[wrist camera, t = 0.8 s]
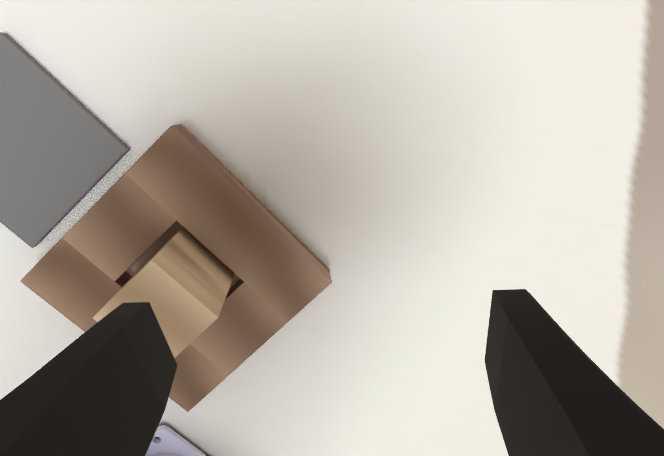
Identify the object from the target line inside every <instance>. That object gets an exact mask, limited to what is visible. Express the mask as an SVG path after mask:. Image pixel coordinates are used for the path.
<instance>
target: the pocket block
mask: <svg viewBox="0 0 664 456" xmlns="http://www.w3.org/2000/svg"><path fill="white" fill-rule="evenodd" d="M183 227H184V228H186V229H187V230H188V231H189V232H190V233H191V234H192V235H193V236H194V237H195V238H197V239H198V240H199V241H200V242H201V243H202V244H203V245H204V246H205V247H206V248H208V249H209V250H210V251H211V252H212V253H213V254H214V255H215V256H216V257H217V258H219V259H220V260H221V261H222V262H223V263H224V264H225V265H226V266H227V267H228V268H230V269H231V270H232V271H233V272H234V273H235V274H234V277H233V280H232V282H231V285H230V288H229V290H228V293H227V296H226V298H225V301H224V304H223V306H222V309H221V312H220V314H219V317H218V318H217V319H216V320H215V321H214V322H213V323H212V324H211V325H210V326H209V327H208V328H207V329H205V330H204V331H203V332H202V333H201V334H200V335H199V336H198V337H197V338H196V339H195V340H194V341H193V342H191V343H190V344H189V345H188V346H187V347H186V348H185V349H184V350H183V351H182V352H181V353H180V354H179V355H177V356H176V357H175V360H176V363H177V369H176V373H175V376H174V380H173V384H172V387H171V391H170V394H169V398H171V399H172V400H173V401H175V402H176V403H177V404H178V405H180V406H181V407H182V408H184V409H185V410H186V411H187V412H188V411H189V410H191V409H192V408H193V407H194V406H195V405H196V404H197V403H198V402H199V401H201V400H202V399H203V398H204V397H205V396H206V395H207V394H208V393H209V392H211V391H212V390H213V389H214V388H215V387H216V386H217V385H218V384H219V383H221V382H222V381H223V380H224V379H225V378H226V377H227V376H228V375H229V374H230V373H232V372H233V371H234V370H235V369H236V368H237V367H238V366H239V365H240V364H242V363H243V362H244V361H245V360H246V359H247V358H248V357H249V356H250V355H252V354H253V353H254V352H255V351H256V350H257V349H258V348H259V347H260V346H262V345H263V344H264V343H265V342H266V341H267V340H268V339H269V338H270V337H272V336H273V335H274V334H275V333H276V332H277V331H278V330H279V329H280V328H282V327H283V326H284V325H285V324H286V323H287V322H288V321H289V320H290V319H292V318H293V317H294V316H295V315H296V314H297V313H298V312H299V311H300V310H302V309H303V308H304V307H305V306H306V305H307V304H308V303H309V302H310V301H312V300H313V299H314V298H315V297H316V296H317V295H318V294H319V293H320V292H322V291H323V290H324V289H325V288H326V287H327V286H328V285H329V284H330V283H332V281H331V276H330V271H329V269H328V268H327V267H326V266H325V265H324V264H323V263H322V262H321V261H320V260H319V259H318V258H317V257H316V256H315V255H313V254H312V253H311V252H310V251H309V250H308V249H307V248H306V247H305V246H304V245H303V244H302V243H301V242H300V241H299V240H298V239H297V238H296V237H295V236H294V235H293V234H292V233H291V232H290V231H289V230H288V229H287V228H286V227H285V226H284V225H283V224H282V223H281V222H280V221H279V220H278V219H277V218H276V217H275V216H274V215H273V214H272V213H271V212H270V211H269V210H268V209H267V208H266V207H265V206H264V205H263V204H262V203H261V202H259V201H258V200H257V199H256V198H255V197H254V196H253V195H252V194H251V193H250V192H249V191H248V190H247V189H246V188H245V187H244V186H243V185H242V184H241V183H240V182H239V181H238V180H237V179H236V178H235V177H234V176H233V175H232V174H231V173H230V172H229V171H228V170H227V169H226V168H225V167H224V166H223V165H222V164H221V163H220V162H219V161H218V160H217V159H216V158H215V157H214V156H213V155H212V154H211V153H210V152H209V151H208V150H207V149H205V148H204V147H203V146H202V145H201V144H200V143H199V142H198V141H197V140H196V139H195V138H194V137H193V136H192V135H191V134H190V133H189V132H188V131H187V130H186V129H185V128H184V127H183V126H182V125H174V126H171V127H170V128H169V129H168V130H167V131H166V132H165V133H164V134H163V135H162V136H161V137H160V138H159V139H158V140H157V141H156V142H155V143H154V144H153V145H152V146H151V147H150V148H149V149H148V150H147V151H146V152H145V153H144V154H143V155H142V156H141V157H140V158H139V159H138V160H137V162H136V163H135V164H134V165H133V166H132V167H131V168H130V169H129V170H128V171H127V172H126V173H125V174H124V175H123V176H122V177H121V178H120V179H119V180H118V181H117V182H116V183H115V184H114V185H113V186H112V187H111V188H110V189H109V190H108V191H107V192H106V193H105V194H104V195H103V196H102V197H101V199H100V200H99V201H98V202H97V203H96V204H95V205H94V206H93V207H92V208H91V209H90V210H89V211H88V212H87V213H86V214H85V215H84V216H83V217H82V218H81V219H80V220H79V221H78V222H77V223H76V224H75V225H74V226H73V227H72V228H71V229H70V230H69V231H68V232H67V233H66V234H65V235H64V237H63V238H62V239H61V240H60V241H59V242H58V243H57V244H56V245H55V246H54V247H53V248H52V249H51V250H50V251H49V252H48V253H47V254H46V255H45V256H44V257H43V258H42V259H41V260H40V261H39V262H38V263H37V264H36V265H35V266H34V267H33V268H32V269H31V270H30V271H29V272H28V273H27V275H26V276H25V277H24V278H23V279H22V280H21V281H20V282H22V283H23V284H24V285H26V286H27V287H28V288H29V289H31V290H32V291H33V292H35V293H36V294H37V295H38V296H40V297H41V298H42V299H44V300H45V301H46V302H47V303H49V304H50V305H51V306H53V307H54V308H55V309H56V310H58V311H59V312H60V313H62V314H63V315H64V316H65V317H67V318H68V319H69V320H71V321H72V322H73V323H74V324H76V325H77V326H78V327H80V328H81V329H82V330H83V331H85V332H86V331H87V330H89V329H90V328H91V327H92V326H93V325H95V324H96V323H97V321H95V320H94V319H93V317H94V316H95V315H96V314H97V313H98V312H99V311H100V310H101V309H102V308H103V307H104V306H105V305H106V303H107V302H108V301H109V300H110V299H111V298H112V297H113V296H114V295H115V294H116V293H117V292H118V291H119V290H120V289H121V288H122V287H123V286H124V285H125V284H126V283H127V282H128V281H129V280H130V279H131V278H132V277H133V276H134V275H135V274H136V273H137V272H138V271H139V270H140V269H141V268H142V267H143V266H144V265H145V264H146V263H147V262H148V261H149V260H150V259H151V258H152V257H153V256H154V255H155V254H156V253H157V252H158V251H159V250H160V249H161V248H162V247H163V246H164V245H165V244H166V243H167V242H168V241H169V240H170V239H171V238H172V237H173V236H174V235H175V234H176V233H177V232H178V231H179V230H181V229H182V228H183Z"/></svg>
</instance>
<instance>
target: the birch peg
mask: <svg viewBox="0 0 664 456" xmlns="http://www.w3.org/2000/svg"><path fill="white" fill-rule="evenodd" d="M234 274H235V273H234V272H233V271H232V270H231V269H230V268H228V267H227V266H226V265H225V264H224V263H223V262H222V261H221V260H220V259H219V258H217V257H216V256H215V255H214V254H213V253H212V252H211V251H210V250H209V249H208V248H206V247H205V246H204V245H203V244H202V243H201V242H200V241H199V240H198V239H197V238H195V237H194V236H193V235H192V234H191V233H190V232H189V231H188V230H187V229H186V228H184V227H183V228H182V229H181V230H179V231H178V232H177V233H176V234H175V235H174V236H173V237H172V238H171V239H170V240H169V241H168V242H167V243H166V244H165V245H164V246H163V247H162V248H161V249H160V250H159V251H158V252H157V253H156V254H155V255H154V256H153V257H152V258H151V259H150V260H149V261H148V262H147V263H146V264H145V265H144V266H143V267H142V268H141V269H140V270H139V271H138V272H137V273H136V274H135V275H134V276H133V277H132V278H131V279H130V280H129V281H128V282H127V283H126V284H125V285H124V286H123V287H122V288H121V289H120V290H119V291H118V292H117V293H116V294H115V295H114V296H113V297H112V298H111V299H110V300H109V301H108V302H107V303H106V305H105V306H104V307H103V308H102V309H101V310H100V311H99V312H98V313H97V314H96V315H95V316H94V317H93V319H94V320H95V321H97V322H98V321H100V320H101V319H102V318H104V317H105V316H106V315H107V314H109V313H110V312H111V311H113V310H114V309H115V308H117V307H118V306H119V305H121V304H122V303H131V302H149V303H150V305H151V307H152V309H153V311H154V314H155V316H156V318H157V320H158V323H159V325H160V327H161V329H162V332H163V334H164V336H165V338H166V340H167V343H168V345H169V347H170V349H171V352H172V354H173V356H174V358H175V357H176V356H177V355H179V354H180V353H181V352H182V351H183V350H184V349H185V348H186V347H187V346H188V345H189V344H190V343H191V342H193V341H194V340H195V339H196V338H197V337H198V336H199V335H200V334H201V333H202V332H203V331H204V330H205V329H207V328H208V327H209V326H210V325H211V324H212V323H213V322H214V321H215V320H216V319H217V318H218V317H219V314H220V312H221V309H222V306H223V304H224V301H225V298H226V296H227V293H228V290H229V288H230V285H231V282H232V280H233V277H234Z"/></svg>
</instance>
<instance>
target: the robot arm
mask: <svg viewBox="0 0 664 456" xmlns="http://www.w3.org/2000/svg"><path fill="white" fill-rule="evenodd" d="M485 364H486V370H487V375H488V380H489V385H490V390H491V395H492V400H493V405H494V410H495V413H496V416H497V419H498V423H499V426H500V429H501V432H502V435H503V439H504V442H505V445H506V448H507V451H508V455H509V456H664V429H663V428H662V427H661V426H659V425H658V424H657V423H656V422H655V421H654V420H653V419H652V418H651V417H650V416H648V415H647V414H646V413H645V412H644V411H643V410H642V409H641V408H640V407H639V406H638V405H637V404H635V402H634V401H632V400H631V399H630V398H629V397H628V396H627V395H626V394H625V393H624V392H623V391H622V390H621V389H620V388H619V387H618V386H617V385H616V384H615V383H614V382H613V381H612V380H611V379H610V378H609V377H608V376H607V375H606V374H605V373H604V372H603V371H602V370H601V369H600V368H599V367H598V366H597V365H596V364H595V363H594V362H593V361H592V360H591V359H590V358H589V357H588V356H587V355H586V354H585V353H584V352H583V351H582V350H581V349H580V348H579V347H578V346H577V345H576V344H575V342H574V341H573V340H572V339H571V338H570V337H569V336H568V335H567V334H566V333H565V332H564V331H563V330H562V328H561V327H560V326H559V325H558V324H557V323H556V322H555V321H554V320H553V319H552V318H551V316H550V315H549V314H548V313H547V312H546V311H545V310H544V309H543V308H542V306H541V305H540V304H539V303H538V302H537V301H536V300H535V299H534V298H533V296H532V295H531V294H530V293H529V292H528V291H527V290H525V289H517V290H493V293H492V301H491V310H490V319H489V328H488V337H487V345H486V354H485ZM176 369H177V363H176V360H175V358H174V356H173V354H172V352H171V349H170V347H169V345H168V343H167V340H166V338H165V336H164V334H163V332H162V329H161V327H160V325H159V323H158V320H157V318H156V316H155V314H154V311H153V309H152V307H151V305H150V303H149V302H131V303H122V304H121V305H119V306H118V307H117V308H115V309H114V310H113V311H111V312H110V313H109V314H107V315H106V316H105V317H104V318H102V319H101V320H100V321H98V322H97V323H96V324H95V325H93V326H92V327H91V328H90V329H89V330H87V331H86V332H85V333H84V334H82V335H81V336H80V337H79V338H78V339H76V340H75V341H74V342H73V343H71V344H70V345H69V346H68V347H67V348H65V349H64V350H63V351H62V352H60V353H59V354H58V355H57V356H55V357H54V358H53V359H52V360H51V361H49V362H48V363H47V364H46V365H44V366H43V367H42V368H41V369H39V370H38V371H37V372H36V373H34V374H33V375H32V376H31V377H30V378H28V379H27V380H26V381H25V382H23V383H22V384H21V385H19V386H18V387H17V388H15V389H14V390H13V391H11V392H10V393H9V394H8V395H6V396H5V397H4V398H2V399H1V400H0V456H206V455H205V454H204V453H202V452H201V451H200V450H198V449H197V448H196V447H194V446H193V445H192V444H190V443H189V442H188V441H186V440H185V439H184V438H183V437H181V436H180V435H179V434H177V433H176V432H175V431H173V430H172V429H171V428H169V427H168V426H165V425H162V426H159V427H158V425H159V423H160V420H161V418H162V415H163V413H164V410H165V407H166V404H167V401H168V397H169V394H170V391H171V387H172V384H173V380H174V376H175V373H176ZM155 437H159V438H160V439H156V438H155Z"/></svg>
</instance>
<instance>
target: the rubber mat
mask: <svg viewBox="0 0 664 456" xmlns="http://www.w3.org/2000/svg"><path fill="white" fill-rule="evenodd" d="M129 150H130V148H129V147H128V146H126V145H125V144H124V143H123V142H122V141H121V140H120V139H119V138H118V137H117V136H116V135H115V134H114V133H112V132H111V131H110V130H109V129H108V128H107V127H106V126H105V125H104V124H103V123H102V122H101V121H100V120H99V119H97V118H96V117H95V116H94V115H93V114H92V113H91V112H90V111H89V110H88V109H87V108H86V107H85V106H83V105H82V104H81V103H80V102H79V101H78V100H77V99H76V98H75V97H74V96H73V95H72V94H71V93H69V92H68V91H67V90H66V89H65V88H64V87H63V86H62V85H61V84H60V83H59V82H58V81H57V80H56V79H54V78H53V77H52V76H51V75H50V74H49V73H48V72H47V71H46V70H45V69H44V68H43V67H42V66H40V65H39V64H38V63H37V62H36V61H35V60H34V59H33V58H32V57H31V56H30V55H29V54H28V53H26V52H25V51H24V50H23V49H22V48H21V47H20V46H19V45H18V44H17V43H16V42H15V41H14V40H12V39H11V38H10V37H9V36H8V35H7V34H5V33H1V32H0V222H1V223H2V224H3V225H5V226H6V227H7V228H8V229H10V230H11V231H12V232H13V233H14V234H16V235H17V236H18V237H19V238H21V239H22V240H23V241H24V242H26V243H27V244H28V245H29V246H31V247H32V248H33V247H35V246H37V245H38V244H39V243H40V242H41V241H42V240H43V239H44V238H45V237H46V236H47V235H48V234H49V233H50V232H51V231H52V229H53V228H54V227H55V226H56V225H57V224H58V223H59V222H60V221H61V220H62V219H63V218H64V217H65V216H66V215H67V214H68V213H69V212H70V211H71V210H72V209H73V208H74V207H75V206H76V205H77V204H78V203H79V202H80V200H81V199H82V198H83V197H84V196H85V195H86V194H87V193H88V192H89V191H90V190H91V189H92V188H93V187H94V186H95V185H96V184H97V183H98V182H99V181H100V180H101V179H102V178H103V177H104V176H105V175H106V174H107V173H108V171H109V170H110V169H111V168H112V167H113V166H114V165H115V164H116V163H117V162H118V161H119V160H120V159H121V158H122V157H123V156H124V155H125V154H126V153H127V152H128V151H129Z"/></svg>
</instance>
